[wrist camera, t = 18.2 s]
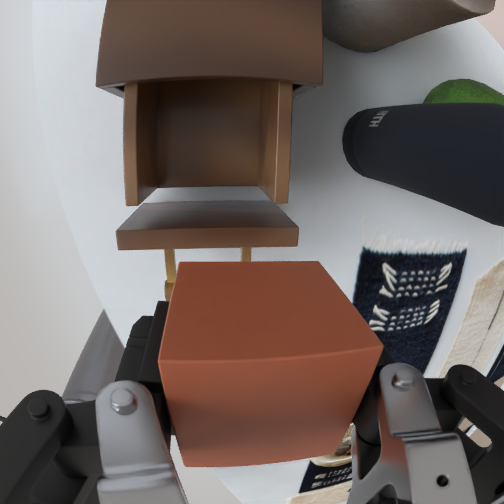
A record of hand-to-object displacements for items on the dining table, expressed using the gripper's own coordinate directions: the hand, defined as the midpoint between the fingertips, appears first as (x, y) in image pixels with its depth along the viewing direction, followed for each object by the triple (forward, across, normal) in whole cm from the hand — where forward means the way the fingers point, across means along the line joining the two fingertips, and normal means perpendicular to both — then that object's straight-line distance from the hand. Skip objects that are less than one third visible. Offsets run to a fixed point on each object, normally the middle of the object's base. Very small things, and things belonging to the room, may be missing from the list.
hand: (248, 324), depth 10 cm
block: (0, 0, 0) cm, 0 cm away
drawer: (+15, +2, -4) cm, 15 cm away
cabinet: (+16, +2, -16) cm, 22 cm away
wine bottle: (+16, -13, -7) cm, 21 cm away
